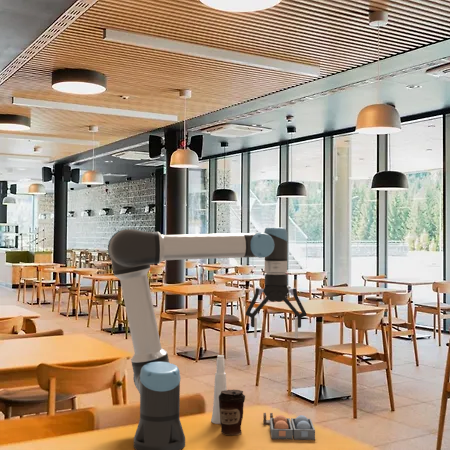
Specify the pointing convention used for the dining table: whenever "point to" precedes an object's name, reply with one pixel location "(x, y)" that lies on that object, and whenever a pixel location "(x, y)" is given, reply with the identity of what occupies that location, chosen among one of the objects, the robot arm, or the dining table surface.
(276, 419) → the rust ball
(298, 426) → the slate ball
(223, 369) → the cosmetic bottle
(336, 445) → the dining table surface
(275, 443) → the dining table surface
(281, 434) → the grey sorting trays
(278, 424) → the orange ball
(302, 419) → the slate ball
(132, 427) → the dining table surface
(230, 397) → the coffee cup
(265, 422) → the ball stand
